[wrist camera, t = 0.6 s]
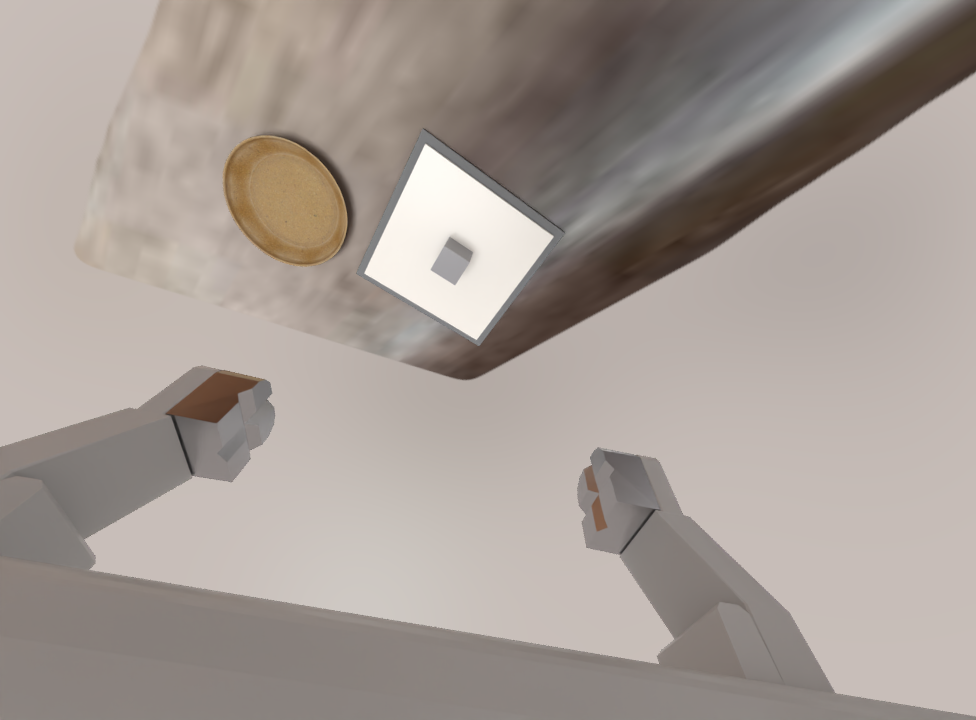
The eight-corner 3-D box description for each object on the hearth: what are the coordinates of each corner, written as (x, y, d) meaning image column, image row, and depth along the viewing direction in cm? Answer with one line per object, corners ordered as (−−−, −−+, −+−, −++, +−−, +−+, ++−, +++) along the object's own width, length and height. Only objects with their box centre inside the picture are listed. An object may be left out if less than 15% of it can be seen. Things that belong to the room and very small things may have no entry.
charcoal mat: (423, 128, 40) (422, 128, 40) (564, 232, 45) (564, 233, 45) (357, 272, 50) (356, 273, 50) (479, 344, 55) (479, 346, 55)
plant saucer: (357, 155, 42) (349, 156, 40) (352, 272, 50) (345, 279, 48) (228, 118, 41) (212, 117, 39) (244, 244, 49) (231, 250, 47)
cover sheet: (426, 143, 41) (416, 145, 37) (553, 235, 45) (556, 246, 41) (365, 271, 49) (352, 284, 46) (476, 338, 54) (473, 354, 50)
